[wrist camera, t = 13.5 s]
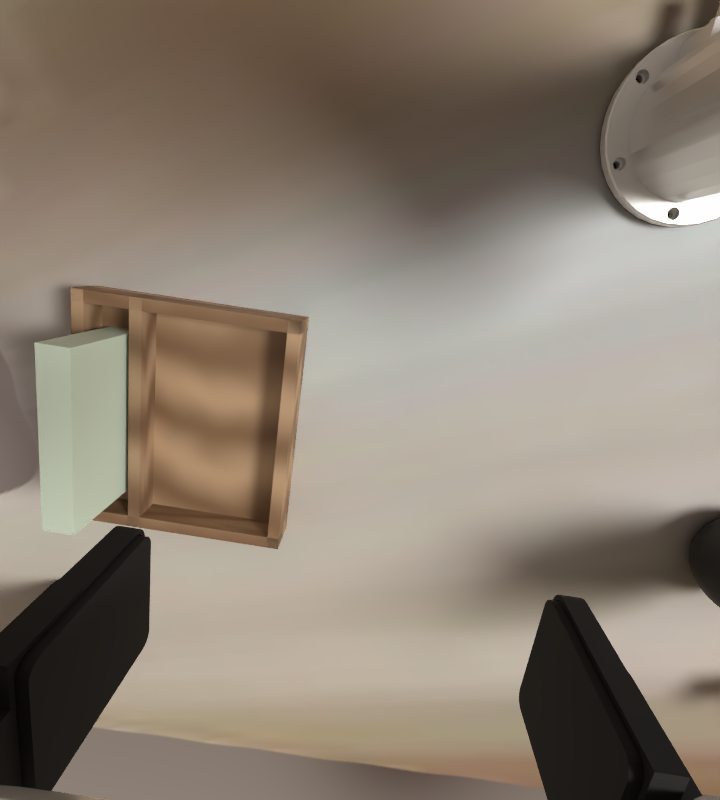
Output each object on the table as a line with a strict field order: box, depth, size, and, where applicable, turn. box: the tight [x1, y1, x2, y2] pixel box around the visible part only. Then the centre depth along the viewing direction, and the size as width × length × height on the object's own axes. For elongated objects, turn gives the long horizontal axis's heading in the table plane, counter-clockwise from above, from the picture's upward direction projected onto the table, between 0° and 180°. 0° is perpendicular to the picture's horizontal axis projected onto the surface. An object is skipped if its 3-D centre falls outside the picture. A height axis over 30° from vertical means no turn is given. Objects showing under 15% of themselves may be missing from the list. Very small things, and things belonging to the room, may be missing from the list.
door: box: [34, 326, 129, 535], centre depth 37 cm, size 14×2×9 cm, turn 172°
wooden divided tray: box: [66, 286, 309, 549], centre depth 41 cm, size 20×19×4 cm
